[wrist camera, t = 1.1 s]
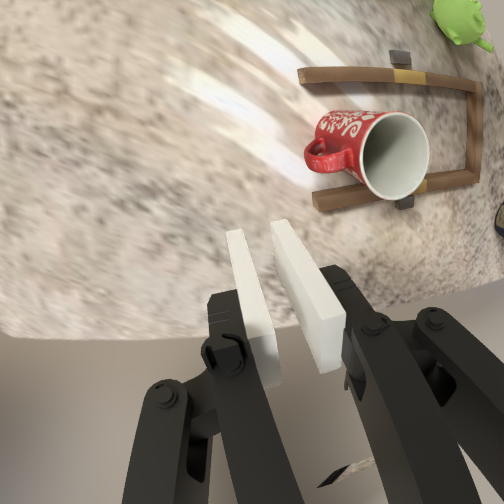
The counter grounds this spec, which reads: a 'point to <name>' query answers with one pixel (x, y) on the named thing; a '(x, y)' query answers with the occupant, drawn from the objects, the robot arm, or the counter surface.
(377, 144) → the mug
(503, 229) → the canister
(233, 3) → the counter surface
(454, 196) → the counter surface
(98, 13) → the counter surface
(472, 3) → the teapot
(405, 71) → the beam slot
